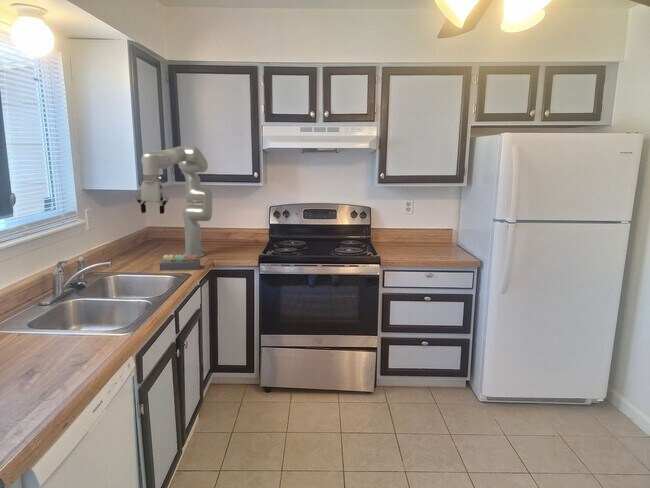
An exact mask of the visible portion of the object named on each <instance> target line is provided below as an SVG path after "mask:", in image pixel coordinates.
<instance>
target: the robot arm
mask: <svg viewBox="0 0 650 488" xmlns="http://www.w3.org/2000/svg"><path fill="white" fill-rule="evenodd" d="M140 163H141V166H142V180H143V181H142V182H141V186H140V187H141V188H140V193H139V194H137V195H135V196H134V197H135V199H136V202H137V203H139V205H140V212H141V213H142V214H144V213H147V206H146V202H147V203H149V202H150V203H151V202H152V203H158V204H159V214H161V215H162V214H165V211H166V210H165V206H166V205H167V203H168V202H169V200H170V197H169V196H168V195H167V194H165V193H164V188H163V184H162V183H163V182H162V179H163V178H162V176H161V175H160V169H161V170H166V169H168V168H170V167H171V166H172V165H173V166H174V165H177V164H178V165H177V166H178V168H179V169H180V171H181V173H182V174H183V176H184V179H185V200H186V201H187V202H188V203H193V204H188V205H185V206H184V207H183V208H182V211H181V212H182V218H183V223H184V224H183V225H184V246H185V247H184V248H185V249H184V250H185V251H184V252H183V254H182V255H185V258H187V255H192V254H197V258H202V257H204V256H205V254H204V253H203V252H202V251H203V250H204V248H203V247H202V228H201V225H200V223H199V222H209V221H211V219H212V217H213V192H212V189H210V188H208V187H205V186H204V187H203V186H201V177H200V176H199V174H198V173H205V172H206V171H208V167H209V164H208V161H207V159H206V157H205V156H204V155H203V153H202V152H201V150H200V149H199V148H198V147H196V146H194V145H185V146H184V145H180V146H179V145H178V146H175V147H172V148H168V149H162V150H154V151H150V152H146V153H143V154H142V157H141V159H140ZM198 204H200V205H198ZM201 204H202V205H201Z"/></svg>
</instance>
